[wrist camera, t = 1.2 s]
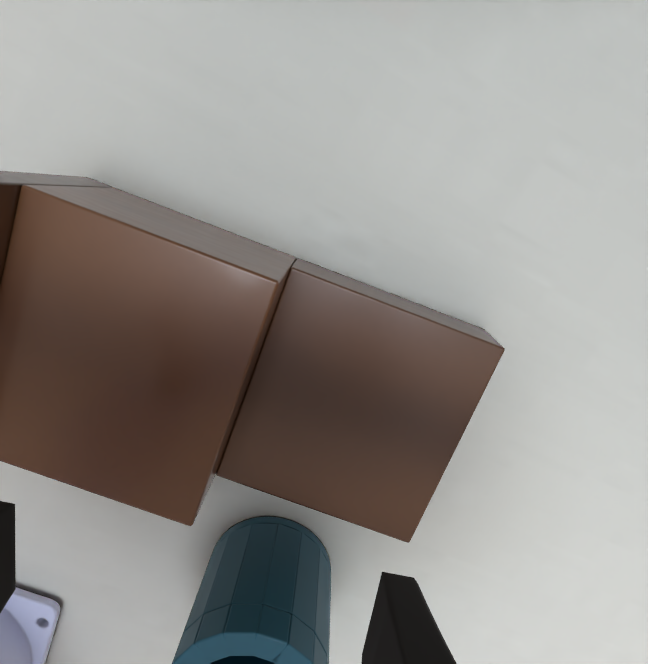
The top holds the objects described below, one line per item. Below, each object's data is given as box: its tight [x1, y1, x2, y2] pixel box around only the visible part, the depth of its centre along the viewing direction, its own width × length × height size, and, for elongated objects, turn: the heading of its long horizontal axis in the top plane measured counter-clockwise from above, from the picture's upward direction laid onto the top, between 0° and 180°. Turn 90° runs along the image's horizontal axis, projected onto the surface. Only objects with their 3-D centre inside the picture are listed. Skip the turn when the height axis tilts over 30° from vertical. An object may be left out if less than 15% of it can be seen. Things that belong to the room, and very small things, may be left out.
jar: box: [172, 516, 331, 664], centre depth 19 cm, size 5×5×6 cm
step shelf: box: [0, 171, 504, 542], centre depth 16 cm, size 8×16×7 cm, turn 69°
